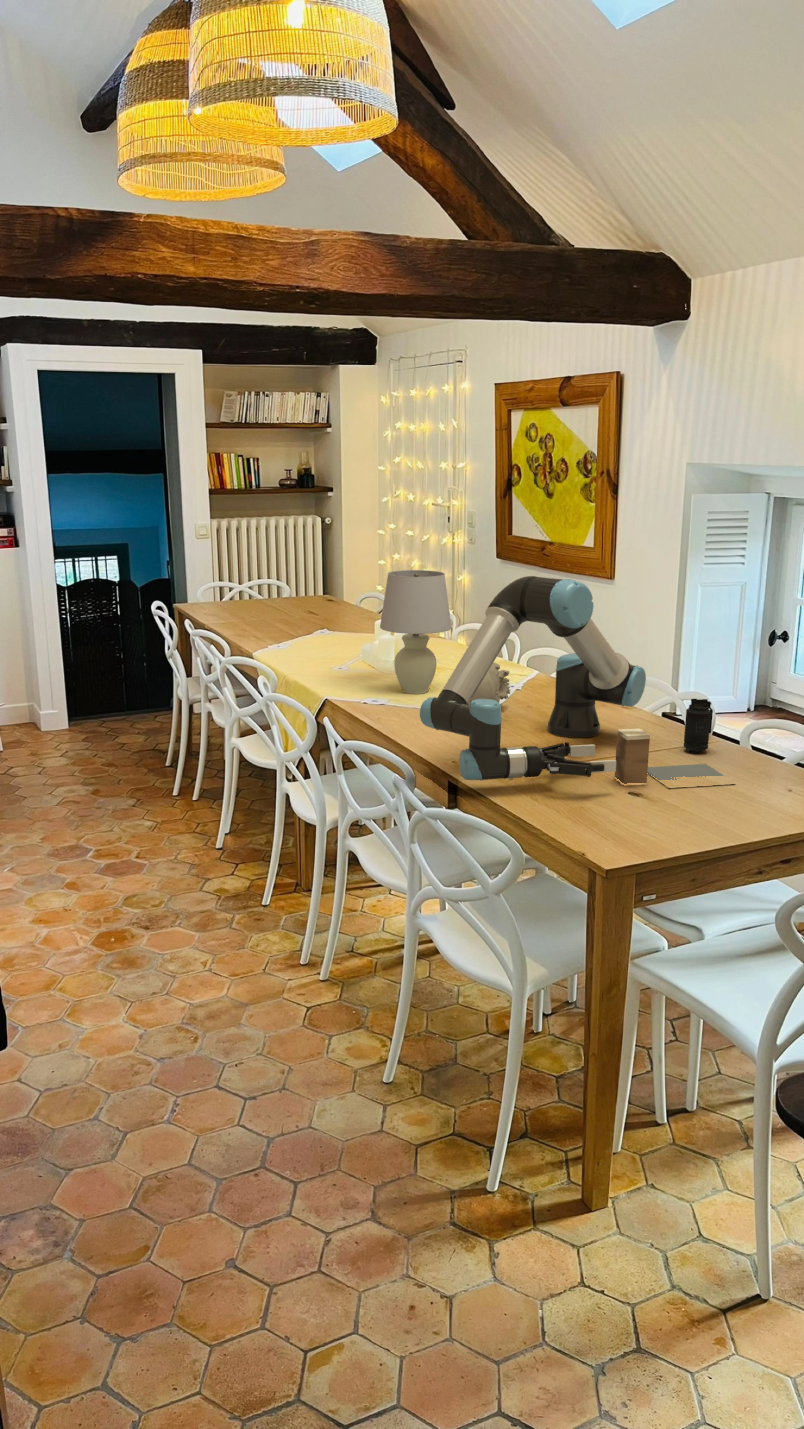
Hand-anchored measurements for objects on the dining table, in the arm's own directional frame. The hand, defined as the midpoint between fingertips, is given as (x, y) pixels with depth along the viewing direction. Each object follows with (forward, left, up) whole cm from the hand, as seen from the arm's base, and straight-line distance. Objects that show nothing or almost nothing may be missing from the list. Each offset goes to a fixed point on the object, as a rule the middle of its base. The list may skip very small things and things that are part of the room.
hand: (604, 757), depth 264 cm
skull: (-70, -13, -7) cm, 72 cm away
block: (0, +7, -7) cm, 10 cm away
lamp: (-106, -25, -7) cm, 109 cm away
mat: (-1, +23, -7) cm, 24 cm away
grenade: (-22, +36, -7) cm, 43 cm away
